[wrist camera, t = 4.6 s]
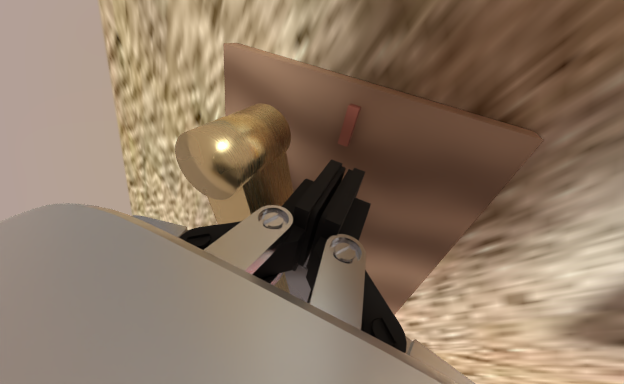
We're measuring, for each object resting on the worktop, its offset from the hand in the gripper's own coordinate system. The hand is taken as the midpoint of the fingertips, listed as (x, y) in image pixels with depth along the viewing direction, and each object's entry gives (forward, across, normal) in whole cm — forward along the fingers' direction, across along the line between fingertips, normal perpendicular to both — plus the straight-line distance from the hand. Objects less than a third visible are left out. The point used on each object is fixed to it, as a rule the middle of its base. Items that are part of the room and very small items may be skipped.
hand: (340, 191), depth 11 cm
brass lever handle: (0, +3, +3) cm, 4 cm away
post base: (+8, +2, +6) cm, 10 cm away
